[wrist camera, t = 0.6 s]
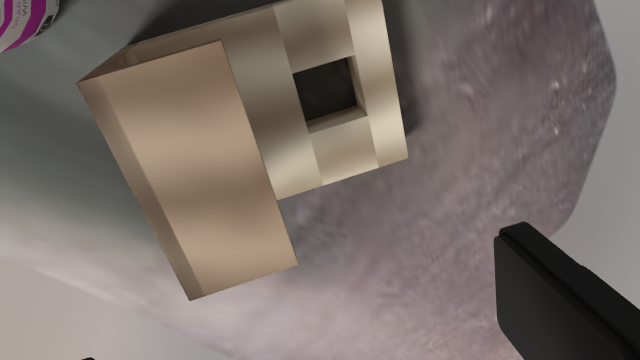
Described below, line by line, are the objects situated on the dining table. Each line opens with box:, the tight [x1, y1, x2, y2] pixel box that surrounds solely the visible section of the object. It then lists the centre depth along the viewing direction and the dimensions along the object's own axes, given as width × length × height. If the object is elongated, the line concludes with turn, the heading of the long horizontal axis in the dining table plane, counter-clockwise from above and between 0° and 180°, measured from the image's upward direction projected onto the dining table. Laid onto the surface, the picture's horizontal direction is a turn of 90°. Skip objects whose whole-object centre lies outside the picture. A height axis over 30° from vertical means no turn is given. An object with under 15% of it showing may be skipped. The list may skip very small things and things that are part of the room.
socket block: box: [76, 0, 408, 301], centre depth 30 cm, size 14×18×12 cm
